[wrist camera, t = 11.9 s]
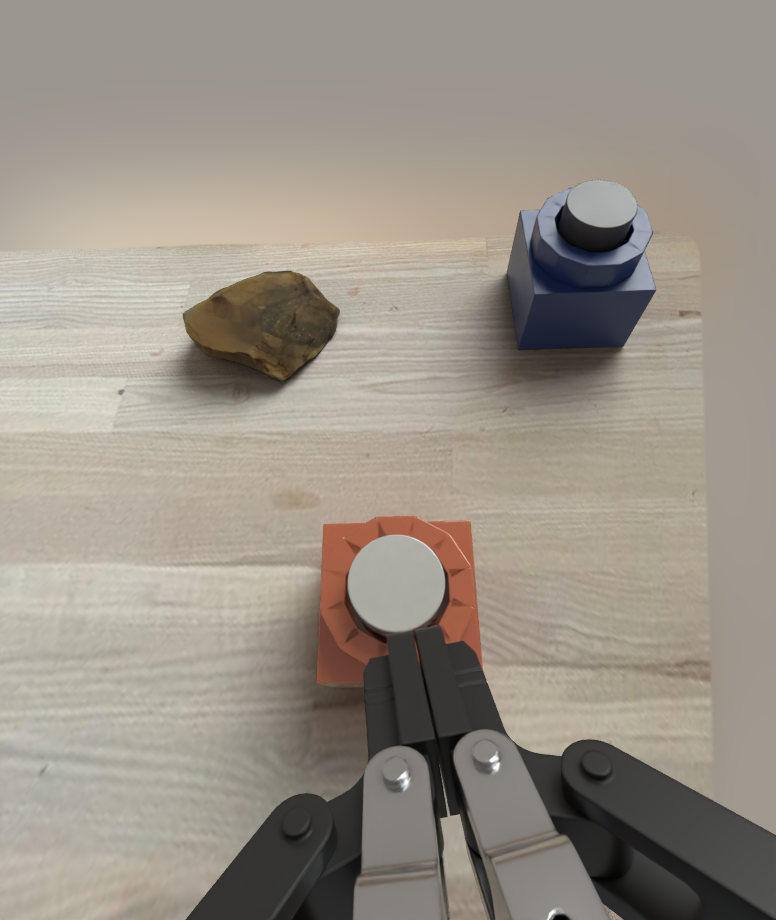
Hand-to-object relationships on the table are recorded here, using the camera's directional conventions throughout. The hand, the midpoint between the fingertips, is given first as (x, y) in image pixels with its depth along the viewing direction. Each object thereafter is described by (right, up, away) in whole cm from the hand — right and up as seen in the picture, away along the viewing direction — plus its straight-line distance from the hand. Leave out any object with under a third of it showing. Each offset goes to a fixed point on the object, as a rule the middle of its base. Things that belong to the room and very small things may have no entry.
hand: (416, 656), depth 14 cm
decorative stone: (-10, +15, +28) cm, 34 cm away
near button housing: (+13, +17, +28) cm, 35 cm away
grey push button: (+13, +21, +21) cm, 32 cm away
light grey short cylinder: (0, -1, +11) cm, 11 cm away
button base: (0, -4, +18) cm, 19 cm away
